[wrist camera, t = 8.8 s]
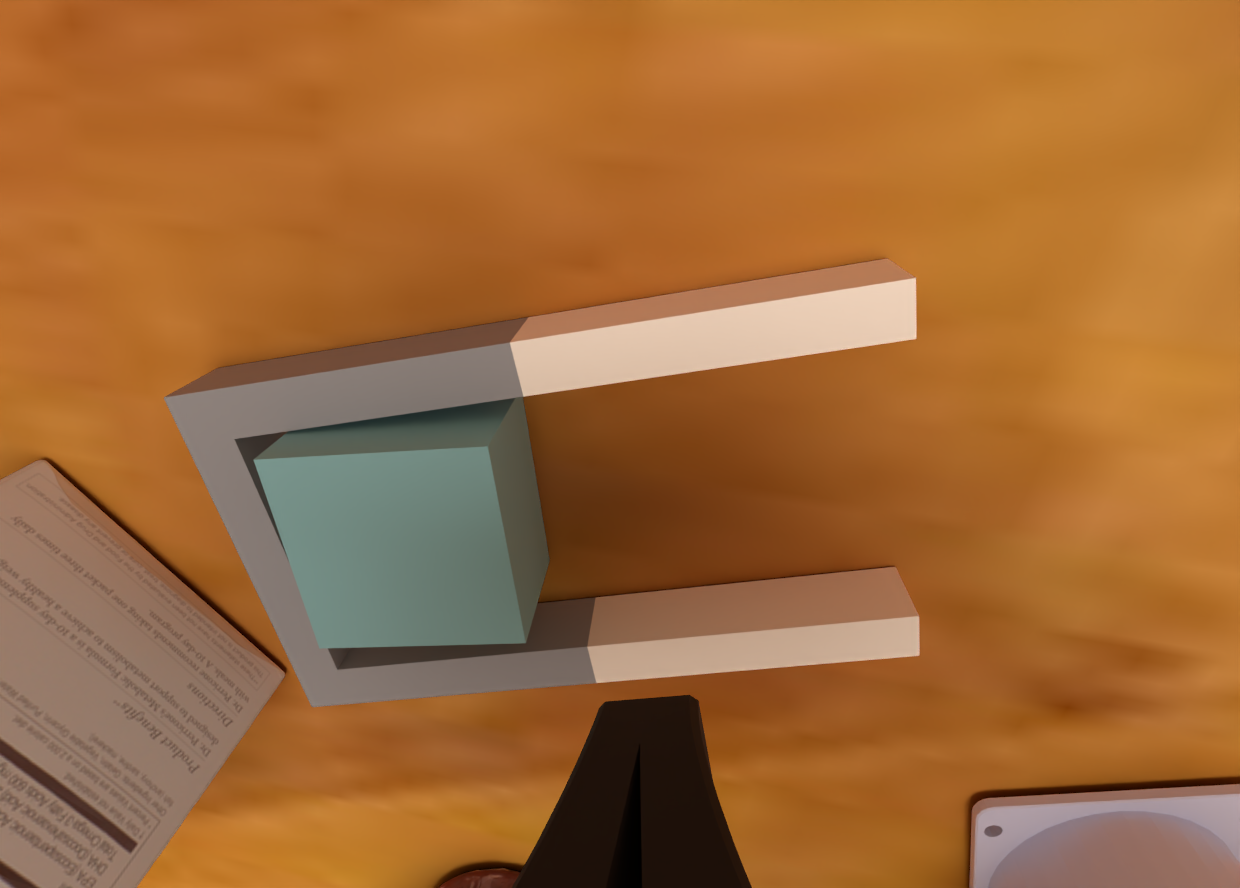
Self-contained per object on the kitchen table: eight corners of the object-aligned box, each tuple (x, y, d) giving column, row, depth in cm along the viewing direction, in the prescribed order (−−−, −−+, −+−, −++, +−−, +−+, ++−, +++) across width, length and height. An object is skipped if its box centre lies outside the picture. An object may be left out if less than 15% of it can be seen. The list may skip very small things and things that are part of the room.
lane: (896, 603, 19) (919, 655, 17) (343, 656, 21) (312, 707, 19) (887, 258, 15) (916, 277, 13) (217, 368, 17) (163, 397, 16)
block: (551, 556, 19) (525, 643, 16) (376, 563, 20) (319, 648, 17) (522, 385, 17) (487, 446, 14) (329, 398, 18) (253, 459, 15)
